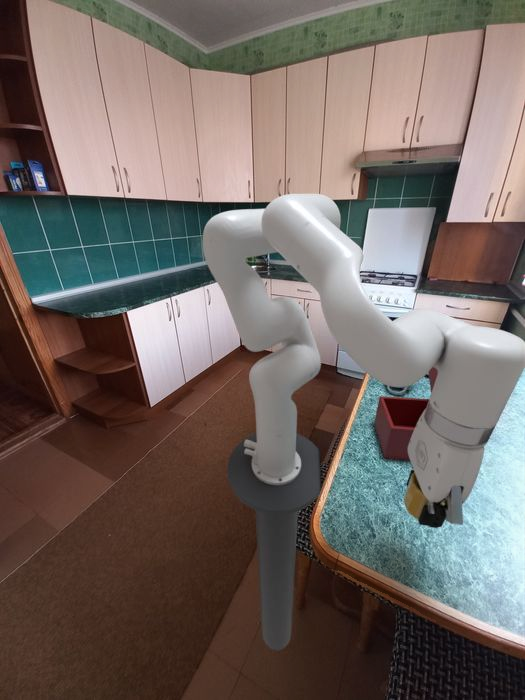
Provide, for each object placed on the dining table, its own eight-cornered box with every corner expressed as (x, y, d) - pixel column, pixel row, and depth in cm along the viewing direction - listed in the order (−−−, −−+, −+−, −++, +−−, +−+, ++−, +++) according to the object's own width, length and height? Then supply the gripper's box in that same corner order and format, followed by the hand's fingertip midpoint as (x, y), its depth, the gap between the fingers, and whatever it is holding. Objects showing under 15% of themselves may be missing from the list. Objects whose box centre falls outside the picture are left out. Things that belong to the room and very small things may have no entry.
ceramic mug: (386, 376, 105) (390, 358, 101) (411, 382, 101) (416, 363, 97) (381, 392, 97) (385, 373, 93) (408, 399, 93) (413, 379, 89)
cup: (403, 515, 46) (412, 492, 43) (403, 486, 50) (411, 464, 47) (442, 529, 44) (454, 506, 41) (438, 497, 48) (449, 475, 45)
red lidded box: (384, 457, 72) (391, 428, 68) (374, 423, 84) (379, 396, 79) (442, 463, 71) (453, 432, 66) (424, 427, 82) (432, 399, 77)
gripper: (407, 380, 46) (385, 460, 55) (455, 470, 31) (414, 560, 40) (458, 384, 45) (427, 464, 54) (533, 478, 30) (473, 568, 39)
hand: (422, 504), depth 47 cm, fingers closed on cup, 5 cm apart
